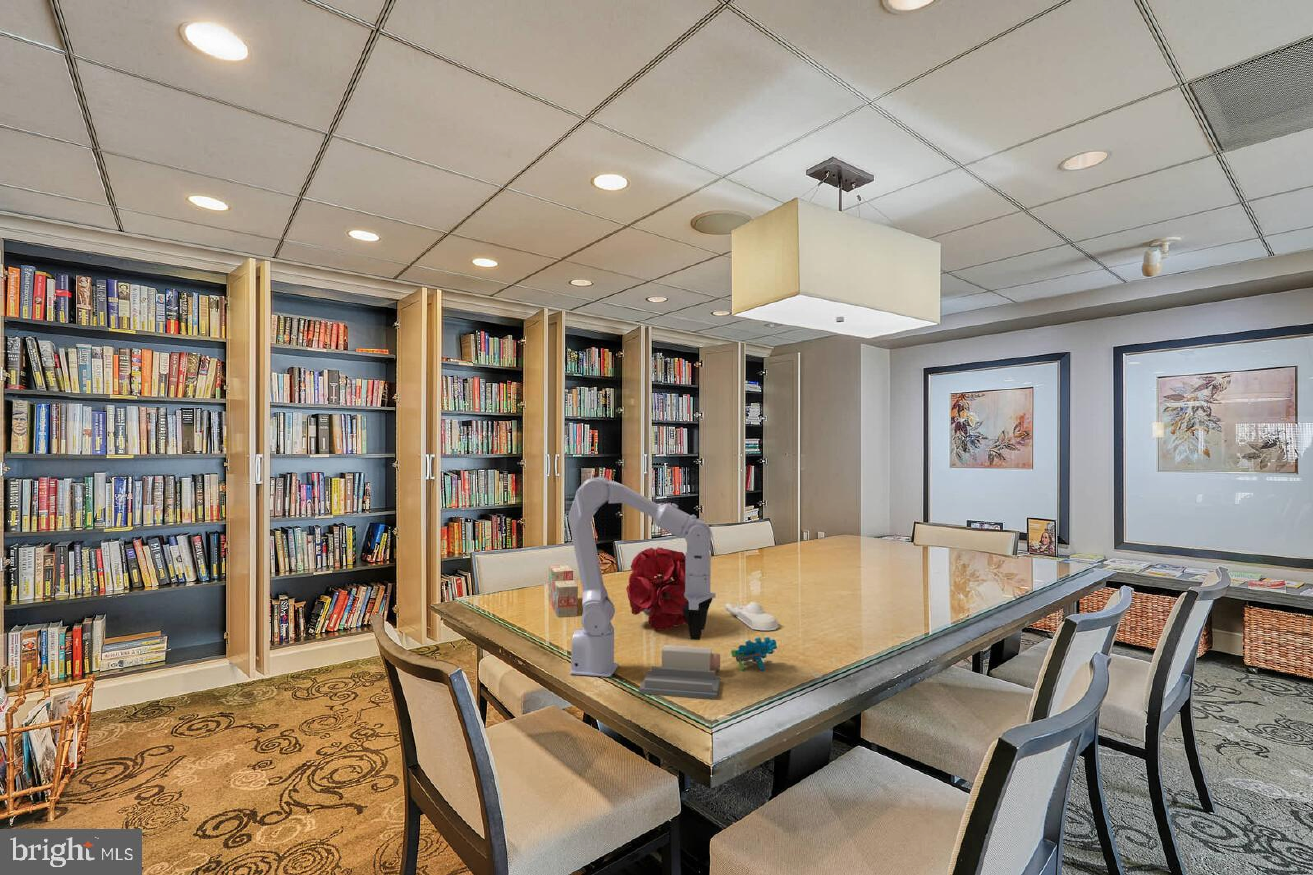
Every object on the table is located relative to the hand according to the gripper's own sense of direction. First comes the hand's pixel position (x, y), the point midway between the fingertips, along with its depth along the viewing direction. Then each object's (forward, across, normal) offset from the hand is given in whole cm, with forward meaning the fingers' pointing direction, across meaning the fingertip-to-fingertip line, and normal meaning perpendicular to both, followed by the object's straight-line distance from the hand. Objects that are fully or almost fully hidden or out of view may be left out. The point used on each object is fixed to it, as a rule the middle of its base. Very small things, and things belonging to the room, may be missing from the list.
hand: (697, 634), depth 135 cm
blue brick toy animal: (+9, +7, -12) cm, 17 cm away
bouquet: (+9, +36, +15) cm, 40 cm away
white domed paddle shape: (+9, +44, -11) cm, 47 cm away
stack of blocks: (+9, +48, +50) cm, 70 cm away
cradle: (+9, -9, +2) cm, 13 cm away
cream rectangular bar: (+9, +1, +2) cm, 9 cm away
